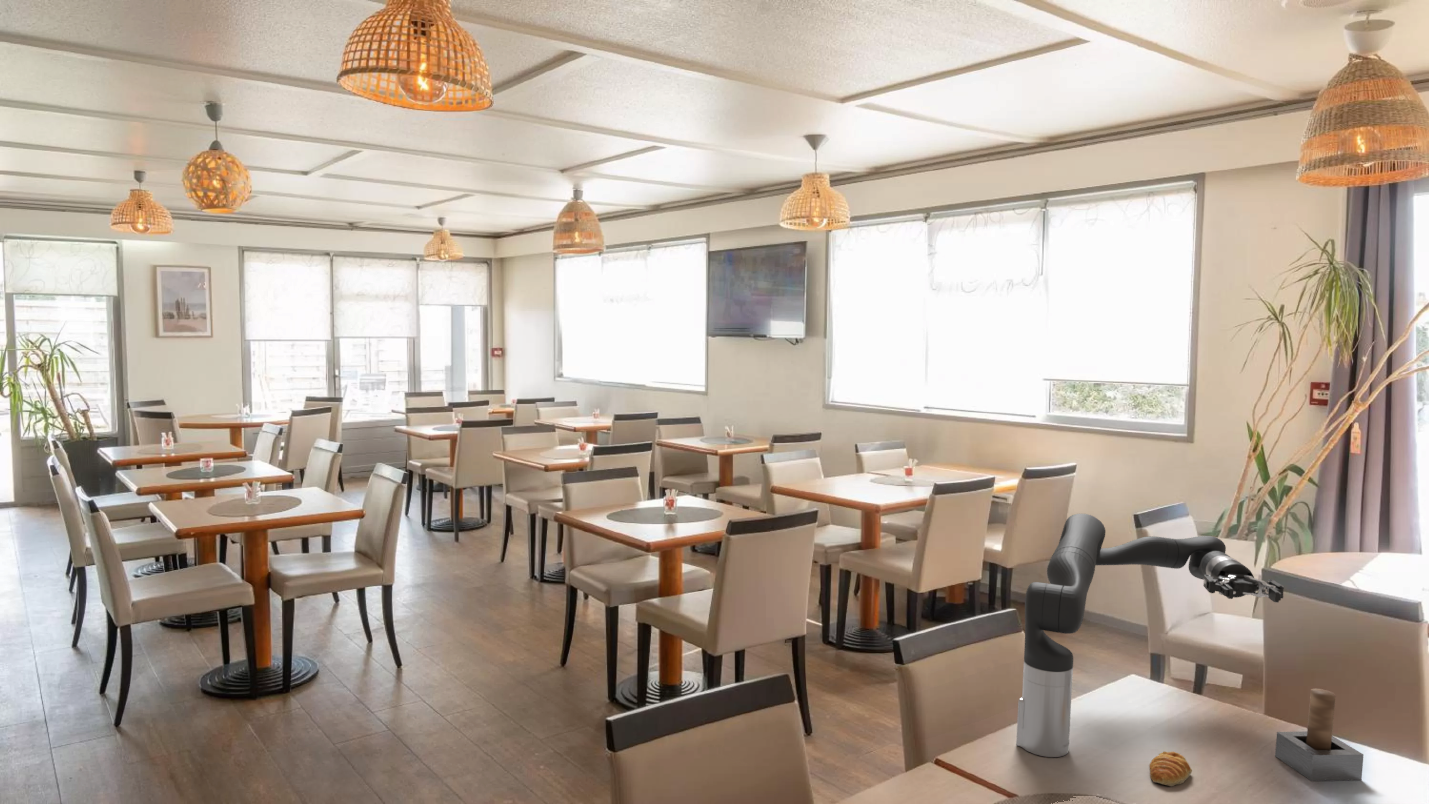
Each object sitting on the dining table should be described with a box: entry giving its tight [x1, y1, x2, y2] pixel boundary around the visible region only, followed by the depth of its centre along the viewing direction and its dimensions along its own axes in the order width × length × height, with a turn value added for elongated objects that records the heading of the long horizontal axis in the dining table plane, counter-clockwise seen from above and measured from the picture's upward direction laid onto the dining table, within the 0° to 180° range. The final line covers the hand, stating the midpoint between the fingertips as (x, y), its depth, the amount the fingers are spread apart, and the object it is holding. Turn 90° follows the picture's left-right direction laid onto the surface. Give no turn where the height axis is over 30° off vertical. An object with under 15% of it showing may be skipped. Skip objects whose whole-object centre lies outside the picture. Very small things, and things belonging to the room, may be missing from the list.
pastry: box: [1148, 751, 1193, 787], centre depth 173 cm, size 9×7×4 cm
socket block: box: [1274, 730, 1364, 782], centre depth 178 cm, size 10×10×5 cm
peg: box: [1306, 688, 1337, 750], centre depth 177 cm, size 4×4×14 cm
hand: (1254, 595), depth 189 cm, fingers open, 8 cm apart
